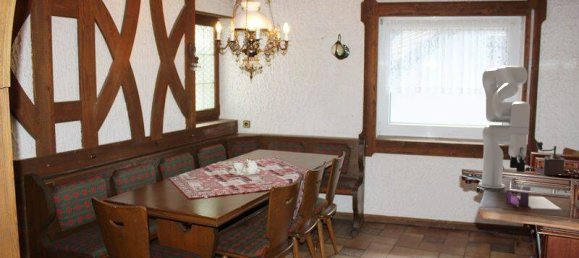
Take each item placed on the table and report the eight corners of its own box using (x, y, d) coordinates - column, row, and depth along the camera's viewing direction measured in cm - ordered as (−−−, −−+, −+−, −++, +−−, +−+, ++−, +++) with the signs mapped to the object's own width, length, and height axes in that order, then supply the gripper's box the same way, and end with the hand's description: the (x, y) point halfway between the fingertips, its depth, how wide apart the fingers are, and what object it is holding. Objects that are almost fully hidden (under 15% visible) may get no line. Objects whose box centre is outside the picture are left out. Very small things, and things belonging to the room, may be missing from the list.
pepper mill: (563, 173, 311) (565, 142, 309) (563, 176, 301) (565, 145, 299) (534, 170, 318) (536, 141, 316) (533, 173, 308) (535, 143, 306)
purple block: (529, 191, 232) (507, 189, 236) (527, 198, 228) (505, 195, 232) (528, 205, 234) (506, 202, 239) (527, 211, 230) (505, 208, 235)
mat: (516, 196, 250) (516, 195, 250) (543, 197, 249) (543, 196, 249) (531, 208, 229) (531, 207, 229) (561, 210, 227) (561, 208, 227)
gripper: (504, 128, 239) (502, 166, 240) (516, 132, 221) (513, 173, 223) (522, 129, 238) (519, 166, 239) (534, 133, 221) (532, 173, 222)
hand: (516, 169), depth 231 cm, fingers open, 9 cm apart
